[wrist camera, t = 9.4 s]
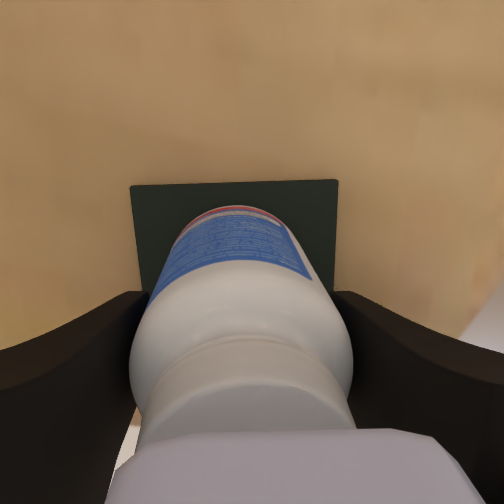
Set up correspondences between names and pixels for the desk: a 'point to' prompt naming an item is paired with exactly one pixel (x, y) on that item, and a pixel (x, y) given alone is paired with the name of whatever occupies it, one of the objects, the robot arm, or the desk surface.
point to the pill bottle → (239, 335)
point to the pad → (228, 194)
